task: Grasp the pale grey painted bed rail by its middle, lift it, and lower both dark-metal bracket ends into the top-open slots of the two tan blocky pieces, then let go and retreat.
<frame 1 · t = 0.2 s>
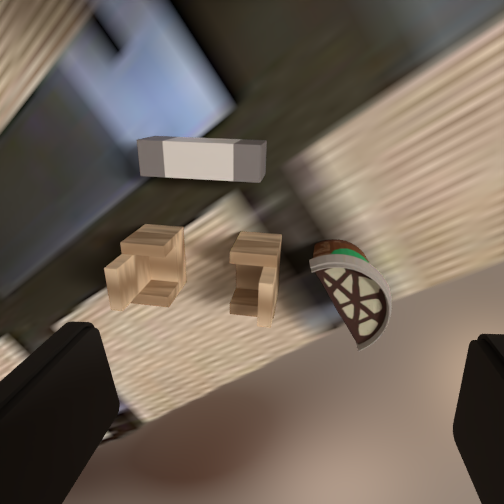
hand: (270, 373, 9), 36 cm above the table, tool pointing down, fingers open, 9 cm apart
bed rail: (210, 155, 43), on the table
food container: (352, 262, 46), on the table
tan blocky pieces: (212, 257, 49), on the table
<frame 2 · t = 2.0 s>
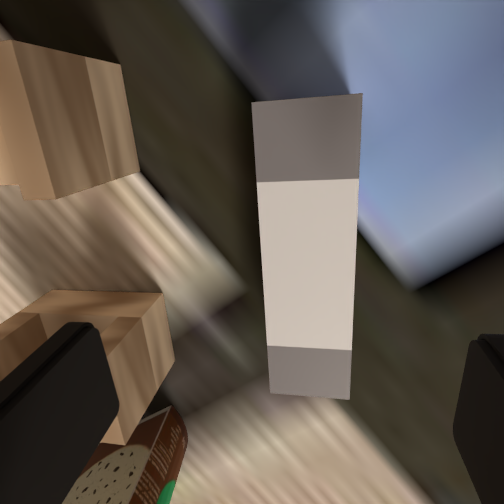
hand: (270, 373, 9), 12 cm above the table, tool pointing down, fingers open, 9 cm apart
bed rail: (310, 234, 20), on the table
food container: (157, 446, 29), on the table
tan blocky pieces: (91, 236, 22), on the table
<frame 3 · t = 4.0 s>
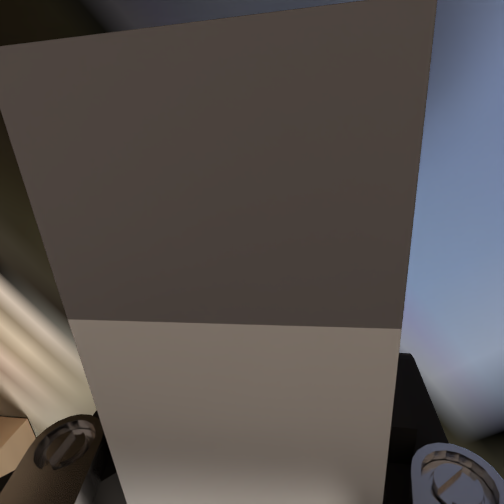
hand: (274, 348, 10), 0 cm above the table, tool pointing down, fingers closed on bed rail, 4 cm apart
bed rail: (275, 341, 10), on the table, touching gripper
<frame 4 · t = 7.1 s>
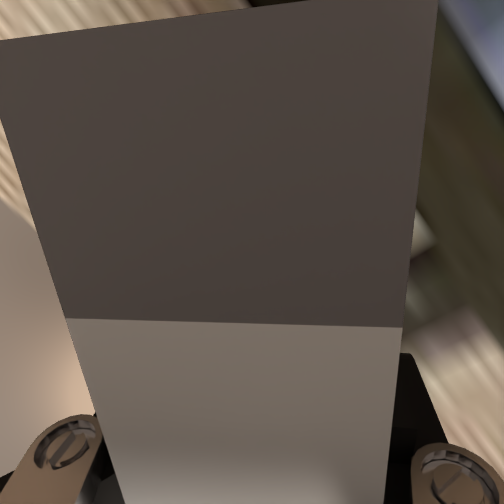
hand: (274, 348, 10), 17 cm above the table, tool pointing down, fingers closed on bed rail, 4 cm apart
bed rail: (275, 340, 10), point 17 cm above the table, touching gripper
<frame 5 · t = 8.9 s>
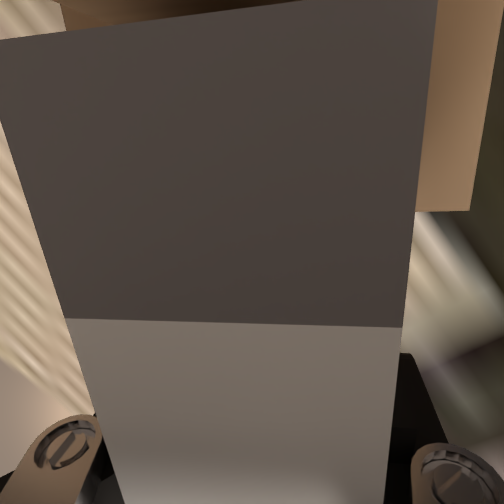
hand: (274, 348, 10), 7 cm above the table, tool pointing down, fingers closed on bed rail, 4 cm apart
bed rail: (275, 341, 10), point 7 cm above the table, touching gripper
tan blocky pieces: (293, 254, 16), on the table
when the fingers open (5 cm above the table, at t = 10.1 s): bed rail drops 1 cm, resting on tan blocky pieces.
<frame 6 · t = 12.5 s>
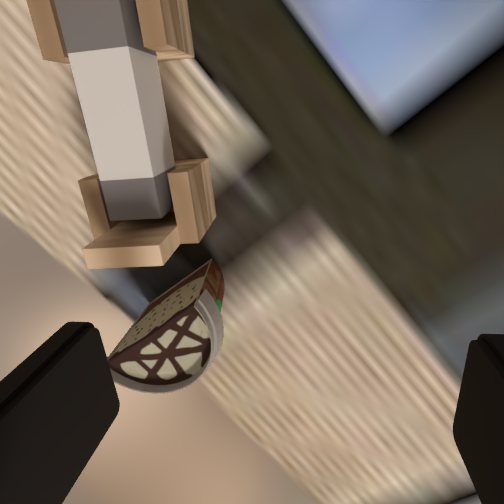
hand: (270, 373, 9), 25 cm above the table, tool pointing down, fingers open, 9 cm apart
bed rail: (142, 116, 28), point 3 cm above the table, touching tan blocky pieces
food container: (199, 300, 38), on the table
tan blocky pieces: (154, 115, 30), on the table
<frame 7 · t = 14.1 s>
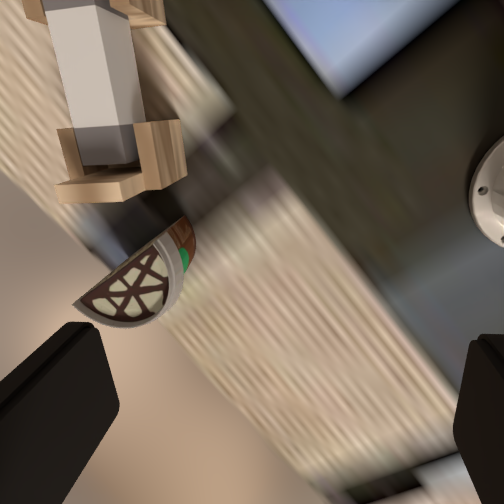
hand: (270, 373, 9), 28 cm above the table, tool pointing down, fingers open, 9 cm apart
bed rail: (117, 76, 31), point 3 cm above the table, touching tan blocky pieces
food container: (173, 256, 41), on the table
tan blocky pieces: (131, 78, 34), on the table
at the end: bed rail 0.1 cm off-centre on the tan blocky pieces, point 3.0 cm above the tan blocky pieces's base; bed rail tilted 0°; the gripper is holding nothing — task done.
